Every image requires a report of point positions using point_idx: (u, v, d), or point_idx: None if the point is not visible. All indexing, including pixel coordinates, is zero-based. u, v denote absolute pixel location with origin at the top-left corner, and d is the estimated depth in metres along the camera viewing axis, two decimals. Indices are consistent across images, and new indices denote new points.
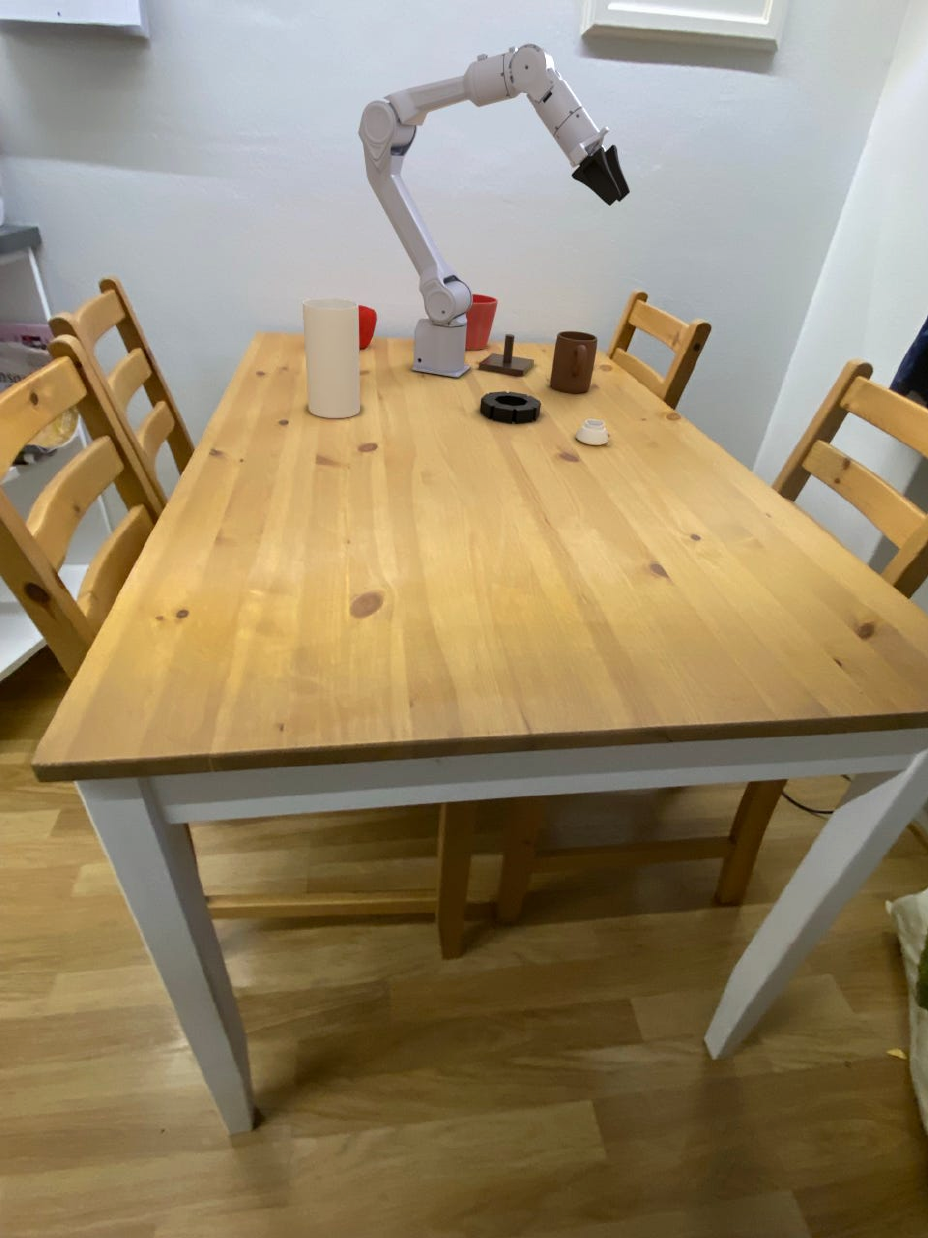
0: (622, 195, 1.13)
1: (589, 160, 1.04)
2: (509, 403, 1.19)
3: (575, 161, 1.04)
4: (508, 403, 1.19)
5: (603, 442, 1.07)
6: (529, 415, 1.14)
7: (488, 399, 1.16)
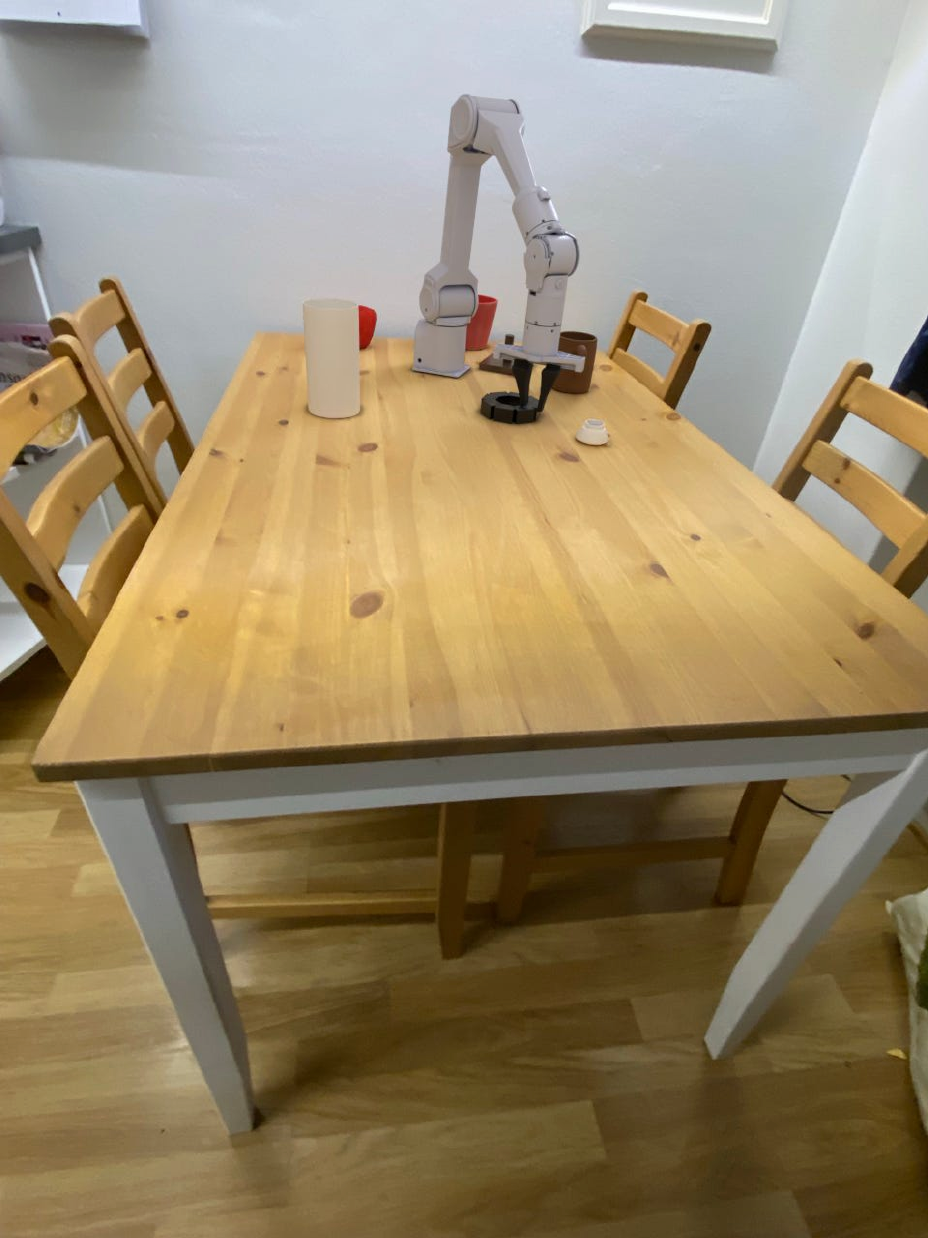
0: None
1: None
2: (509, 403, 1.19)
3: None
4: (508, 403, 1.19)
5: (603, 442, 1.07)
6: (530, 415, 1.14)
7: (488, 399, 1.16)
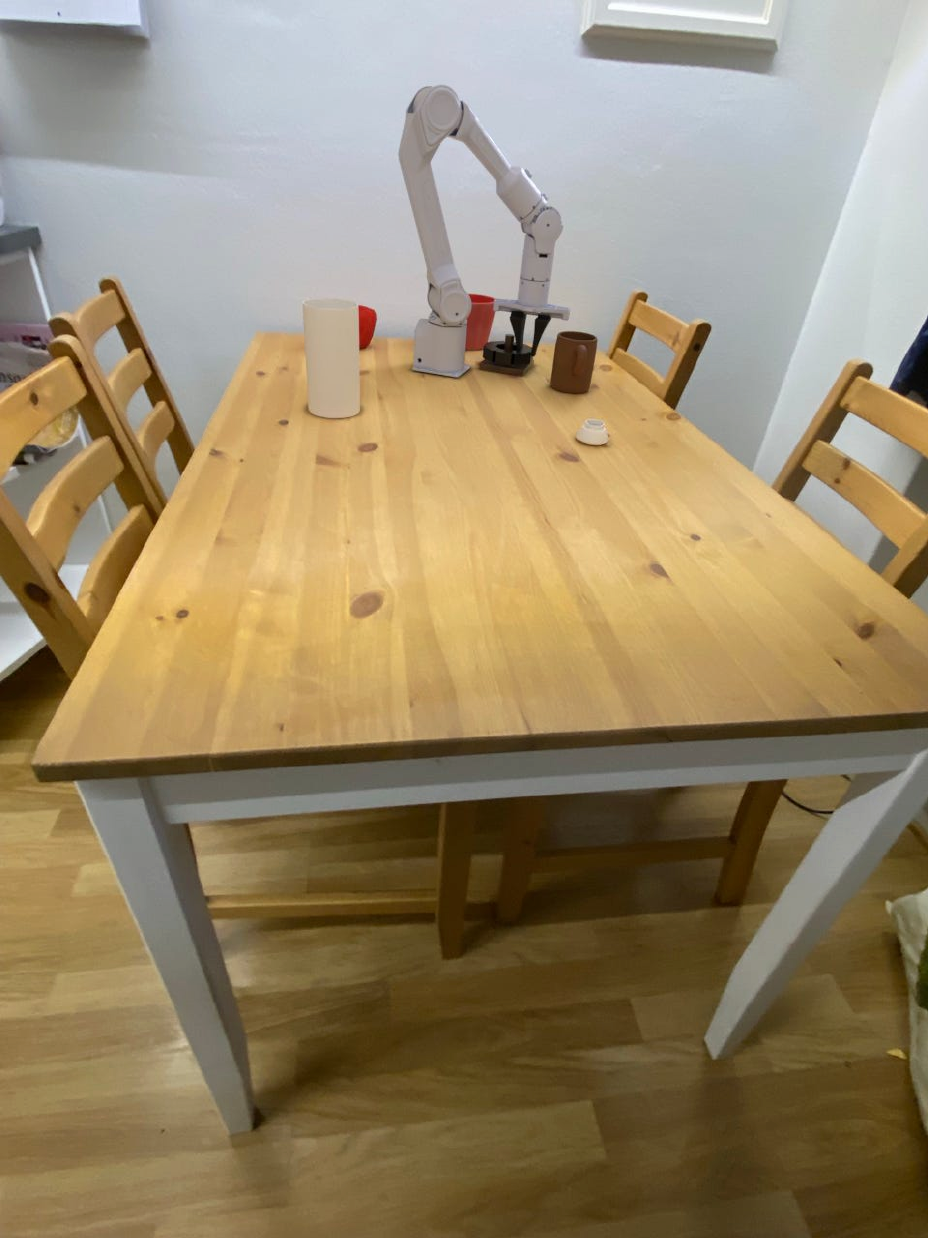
0: None
1: None
2: None
3: None
4: None
5: (603, 442, 1.07)
6: (525, 358, 1.36)
7: (489, 346, 1.37)
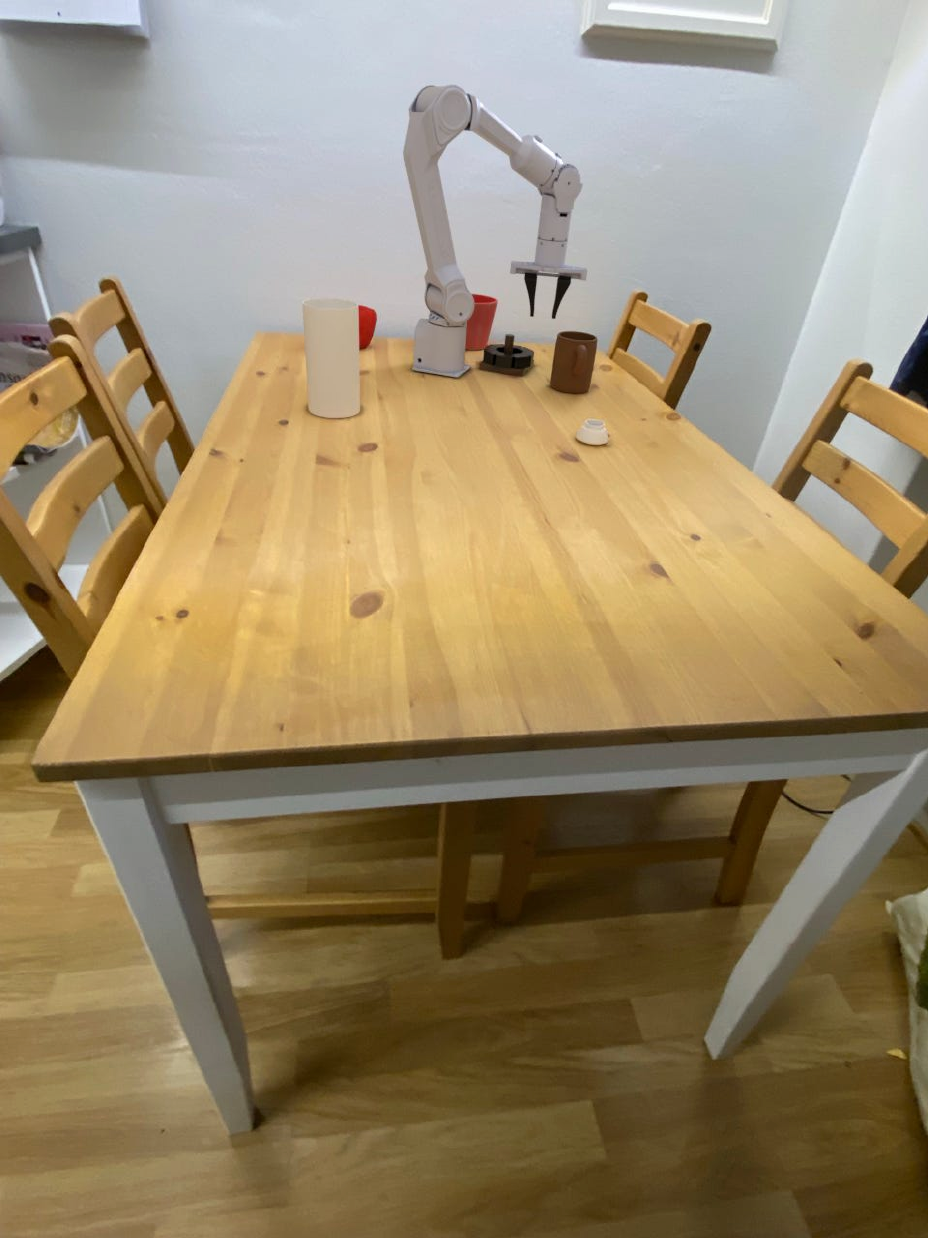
0: None
1: None
2: None
3: None
4: None
5: (603, 442, 1.07)
6: (525, 361, 1.36)
7: (490, 349, 1.38)
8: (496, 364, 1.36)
